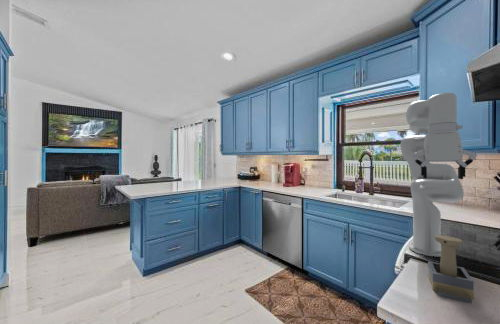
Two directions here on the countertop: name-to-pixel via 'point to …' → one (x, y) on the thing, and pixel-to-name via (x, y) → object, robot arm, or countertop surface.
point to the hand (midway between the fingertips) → (442, 178)
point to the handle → (448, 254)
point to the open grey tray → (451, 283)
